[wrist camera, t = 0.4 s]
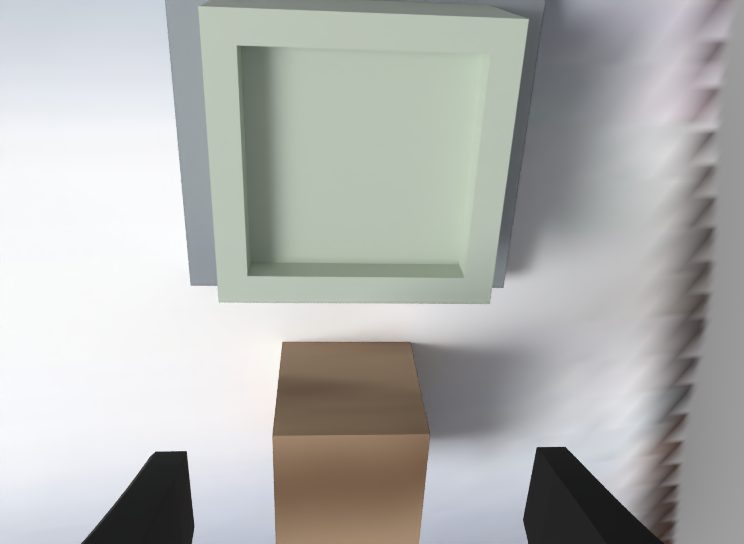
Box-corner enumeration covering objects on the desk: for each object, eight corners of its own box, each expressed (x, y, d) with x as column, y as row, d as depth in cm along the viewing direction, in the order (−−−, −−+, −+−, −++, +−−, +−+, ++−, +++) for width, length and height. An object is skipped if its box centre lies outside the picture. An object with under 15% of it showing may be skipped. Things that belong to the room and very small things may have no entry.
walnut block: (402, 440, 25) (418, 545, 21) (284, 441, 25) (275, 549, 21) (409, 341, 23) (430, 434, 19) (282, 340, 23) (272, 435, 19)
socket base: (496, 274, 22) (537, 352, 18) (196, 271, 22) (164, 352, 17) (542, -55, 18) (610, -56, 14) (167, -73, 17) (114, -80, 13)
